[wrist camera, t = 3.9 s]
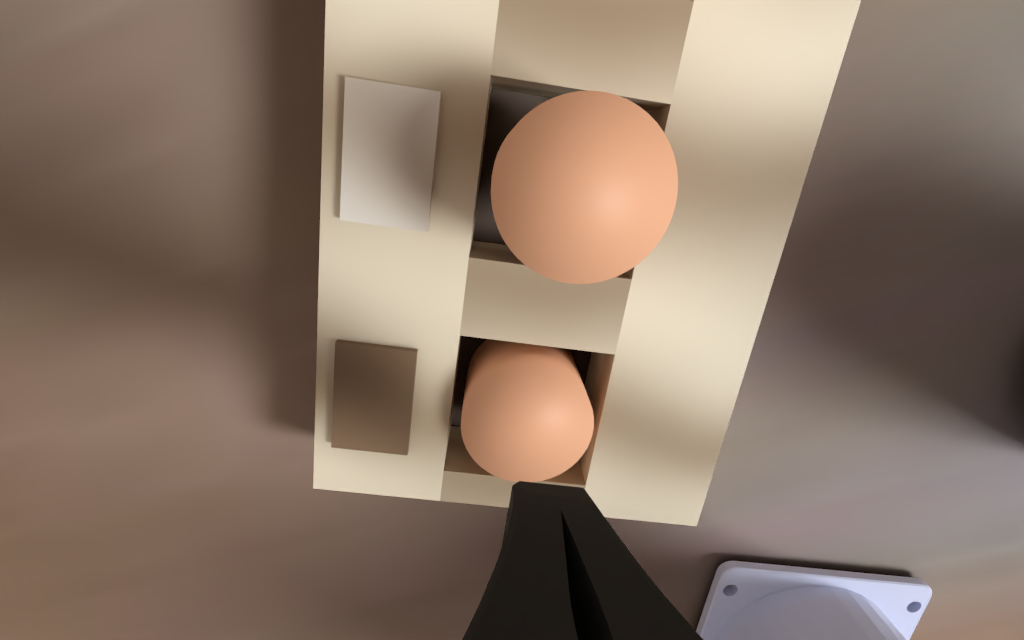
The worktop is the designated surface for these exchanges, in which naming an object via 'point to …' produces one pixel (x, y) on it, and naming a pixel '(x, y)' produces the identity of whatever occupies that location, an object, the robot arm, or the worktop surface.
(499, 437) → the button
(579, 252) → the button mid
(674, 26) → the button board
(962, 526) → the worktop surface
